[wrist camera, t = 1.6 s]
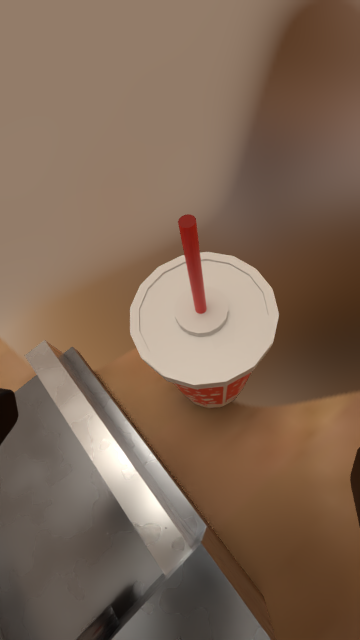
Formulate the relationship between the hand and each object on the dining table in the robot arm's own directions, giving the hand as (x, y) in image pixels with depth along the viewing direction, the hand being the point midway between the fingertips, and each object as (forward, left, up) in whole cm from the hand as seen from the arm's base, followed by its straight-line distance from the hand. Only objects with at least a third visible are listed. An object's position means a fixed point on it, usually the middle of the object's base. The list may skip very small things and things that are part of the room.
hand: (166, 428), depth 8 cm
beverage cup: (+3, -4, -12) cm, 13 cm away
